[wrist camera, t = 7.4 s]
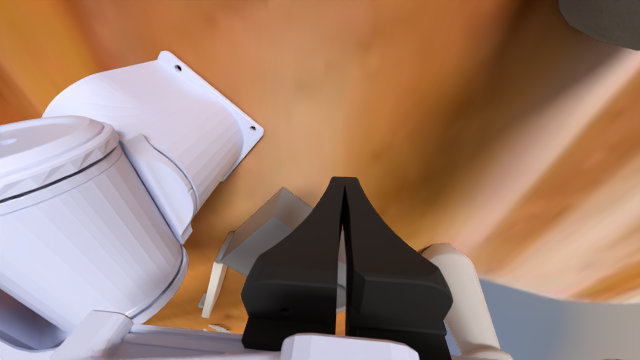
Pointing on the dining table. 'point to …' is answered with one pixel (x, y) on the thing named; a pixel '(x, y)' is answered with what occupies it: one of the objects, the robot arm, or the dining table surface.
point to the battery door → (215, 281)
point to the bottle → (605, 20)
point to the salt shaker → (466, 304)
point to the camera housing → (275, 237)
